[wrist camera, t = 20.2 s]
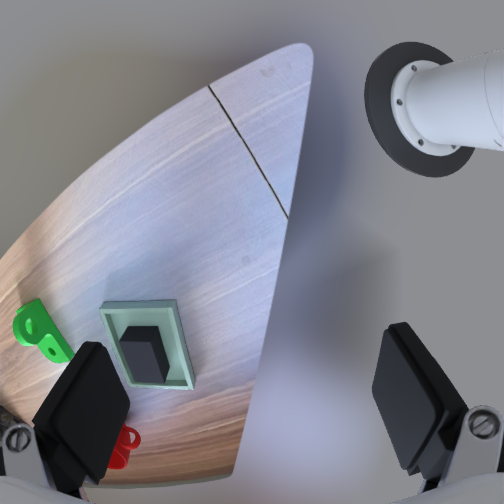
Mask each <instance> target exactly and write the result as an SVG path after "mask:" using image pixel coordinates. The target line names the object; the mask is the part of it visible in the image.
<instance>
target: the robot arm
mask: <svg viewBox="0 0 504 504" xmlns="http://www.w3.org/2000/svg"><path fill="white" fill-rule="evenodd" d="M390 96H391V107H392V112H393V116H394V118H395V121H396V124H397V126H398V127H399V129H400V131H401V133H402V134H403V135H404V137H405V138H406V139H407V141H409V142H410V143H411V144H412V145H413V146H414V147H415V148H417V149H418V150H420V151H422V152H424V153H426V154H430V155H435V156H444V155H449V154H451V153H453V152H455V151H456V150H457V149H459V148H460V147H461V146H468V147H477V148H485V149H493V150H500V151H504V49H499V50H496V51H491V52H487V53H484V54H479V55H475V56H472V57H468V58H465V59H461V60H458V61H454V62H451V63H448V64H444V65H441V66H440V65H439V64H437V63H434V62H431V61H425V60H420V61H414V62H412V63H409V64H407V65H406V66H404V67H402V69H401V70H400V71H399V72H398V73H397V75H396V76H395V78H394V80H393V83H392V87H391V95H390ZM397 102H398V104H397ZM418 141H419V144H418ZM372 394H373V397H374V399H375V402H376V404H377V406H378V409H379V411H380V414H381V416H382V419H383V421H384V424H385V426H386V429H387V432H388V434H389V437H390V439H391V442H392V444H393V447H394V450H395V452H396V455H397V458H398V460H399V463H400V466H401V468H402V469H403V470H406V469H407V471H408V474H409V476H411V475H413V474H416V473H419V472H421V473H422V476H423V478H424V481H423V483H422V485H421V487H420V490H419V492H418V494H417V495H415V496H413V497H409V498H406V499H403V500H400V501H397V502H393V503H390V504H504V420H503V418H502V416H501V414H500V413H499V412H498V411H497V410H495V409H494V408H492V407H489V406H483V405H480V406H475V407H474V408H472V409H470V410H469V409H468V407H467V405H466V404H465V402H464V401H463V399H462V398H461V396H460V395H459V393H458V392H457V390H456V389H455V387H454V386H453V384H452V383H451V381H450V380H449V378H448V377H447V375H446V374H445V373H444V371H443V370H442V368H441V367H440V365H439V364H438V363H437V361H436V360H435V359H434V357H432V355H431V354H430V352H429V351H428V350H427V348H426V347H425V346H424V344H423V343H422V342H421V340H420V339H419V338H418V336H417V335H416V334H415V332H414V331H413V330H412V328H411V327H410V326H409V324H408V323H406V322H402V323H397V324H391V325H389V327H388V329H386V330H385V331H384V333H383V338H382V344H381V348H380V354H379V358H378V363H377V368H376V372H375V376H374V381H373V385H372ZM129 407H130V400H129V398H128V395H127V393H126V391H125V389H124V387H123V385H122V383H121V381H120V378H119V376H118V374H117V372H116V369H115V367H114V365H113V363H112V360H111V358H110V355H109V353H108V351H107V349H106V347H104V346H103V345H102V344H101V343H100V342H89V341H86V342H84V343H83V344H82V346H81V347H80V348H79V350H78V351H77V353H76V354H75V356H74V357H73V358H72V360H71V361H70V363H69V364H68V366H67V367H66V369H65V370H64V371H63V373H62V374H61V376H60V377H59V379H58V380H57V382H56V383H55V385H54V386H53V388H52V390H51V391H50V393H49V394H48V396H47V397H46V399H45V400H44V402H43V404H42V405H41V407H40V408H39V410H38V412H37V413H36V415H35V416H34V418H33V420H32V422H33V423H34V425H35V426H34V428H32V427H31V426H30V425H28V424H26V423H18V424H15V425H13V426H11V427H10V428H9V429H7V431H6V432H5V433H4V435H3V438H2V446H1V447H0V504H95V503H91V502H89V500H88V498H87V496H86V494H85V491H84V489H83V487H82V484H83V481H85V482H88V483H91V484H95V485H98V484H99V481H100V479H102V478H103V477H104V476H105V473H106V470H107V467H108V464H109V462H110V459H111V456H112V453H113V450H114V448H115V445H116V442H117V439H118V437H119V434H120V431H121V429H122V426H123V423H124V421H125V418H126V416H127V413H128V410H129Z"/></svg>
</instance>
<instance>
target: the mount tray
mask: <svg viewBox="0 0 504 504" xmlns="http://www.w3.org/2000/svg"><path fill="white" fill-rule="evenodd" d="M99 312H100V315H101V318H102V320H103V323H104V326H105V329H106V332H107V334H108V337H109V340H110V342H111V345H112V347H113V350H114V353H115V355H116V358H117V360H118V362H119V365H120V367H121V370H122V372H123V374H124V376H125V379H126V381H127V383H128V385H129V387H141V388H159V389H191V390H194V386H195V377H194V374H193V370H192V366H191V362H190V359H189V355H188V351H187V347H186V343H185V339H184V335H183V331H182V327H181V322H180V318H179V314H178V309H177V305H176V300H162V301H133V302H104V303H103V304H102V305H101V307H100V308H99ZM128 326H158V328H159V331H160V335H161V338H162V342H163V345H164V348H165V352H166V355H167V358H168V361H169V365H170V369H169V372H168V375H167V378H166V381H165V384H163V383H142V382H135V381H134V378H133V376H132V374H131V371H130V369H129V366H128V364H127V361H126V359H125V356H124V354H123V351H122V349H121V346H120V343H119V340H120V338H121V337H122V335H123V333H124V332H125V330H126V328H127V327H128Z"/></svg>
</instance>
